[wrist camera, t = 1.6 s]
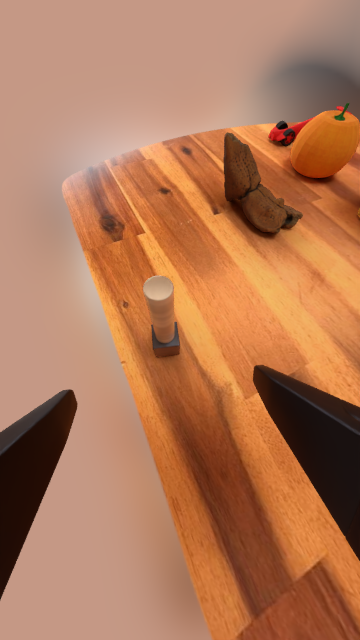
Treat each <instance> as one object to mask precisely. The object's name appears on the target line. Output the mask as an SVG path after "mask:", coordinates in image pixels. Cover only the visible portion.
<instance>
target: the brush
mask: <svg viewBox="0 0 360 640" xmlns="http://www.w3.org/2000/svg"><path fill="white" fill-rule="evenodd" d="M143 292H144V296H145V299H146V303H147V306H148V310H149V313H150V317H151V321H152V325H151V326H152V341H153V350H154V352H155V355H156V357H162V356H170V355H178V354H179V350H180V343H179V335H178V328H177V322H174V286H173V283H172V282H171V280H170V279H168V278H167V277H164V276H153V277H151V278H149V279H148V280H147V281H146V282H145V284H144V286H143Z"/></svg>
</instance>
